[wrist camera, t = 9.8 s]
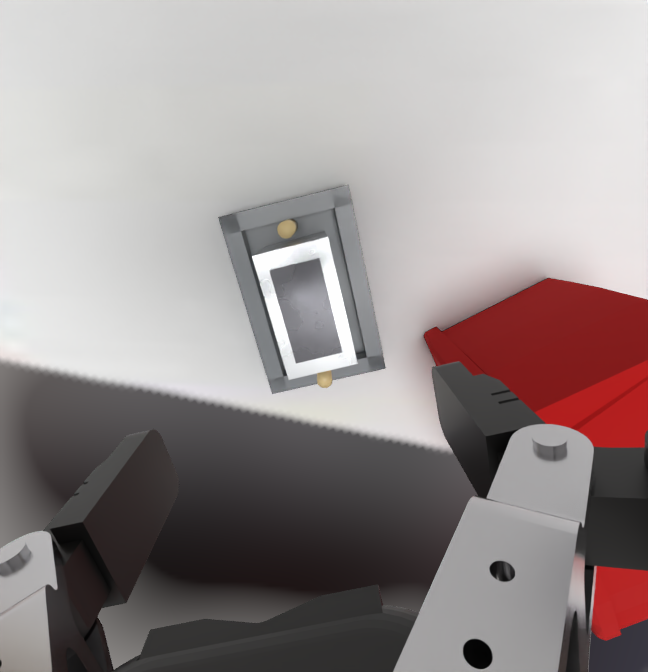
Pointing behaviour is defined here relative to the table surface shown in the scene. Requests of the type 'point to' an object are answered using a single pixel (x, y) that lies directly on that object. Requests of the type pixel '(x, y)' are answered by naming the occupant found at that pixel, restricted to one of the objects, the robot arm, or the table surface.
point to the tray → (340, 226)
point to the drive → (305, 305)
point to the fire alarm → (570, 386)
